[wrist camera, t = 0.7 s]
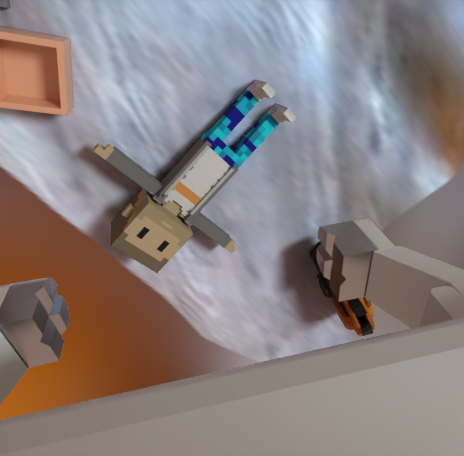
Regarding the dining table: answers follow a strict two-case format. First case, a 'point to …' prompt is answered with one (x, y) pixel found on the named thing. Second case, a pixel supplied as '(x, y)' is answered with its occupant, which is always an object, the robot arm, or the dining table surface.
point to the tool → (348, 305)
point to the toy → (187, 185)
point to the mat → (5, 3)
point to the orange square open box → (35, 72)
